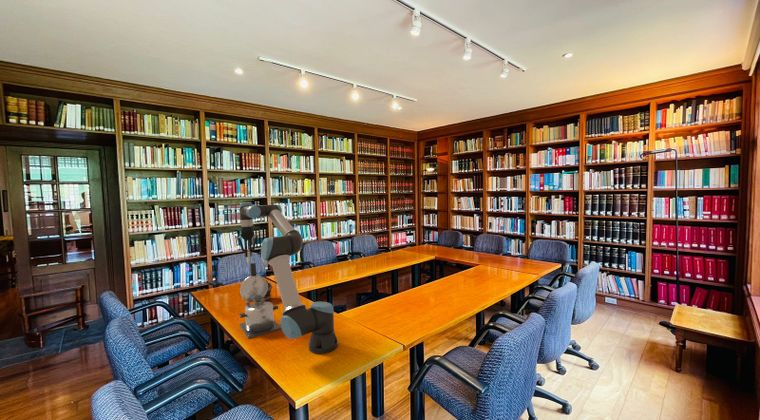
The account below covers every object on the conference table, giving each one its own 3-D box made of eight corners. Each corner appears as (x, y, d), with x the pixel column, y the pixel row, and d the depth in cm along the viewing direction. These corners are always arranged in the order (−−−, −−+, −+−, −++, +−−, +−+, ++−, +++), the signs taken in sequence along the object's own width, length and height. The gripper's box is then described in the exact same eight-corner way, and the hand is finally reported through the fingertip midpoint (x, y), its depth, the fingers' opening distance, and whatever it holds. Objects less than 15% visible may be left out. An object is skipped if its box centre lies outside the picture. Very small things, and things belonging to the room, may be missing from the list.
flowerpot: (276, 296, 243) (274, 271, 242) (267, 303, 228) (265, 277, 227) (258, 296, 245) (257, 271, 244) (248, 303, 230) (247, 277, 228)
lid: (266, 261, 198) (265, 260, 201) (238, 265, 189) (237, 264, 191) (268, 298, 199) (267, 297, 202) (241, 304, 189) (240, 303, 192)
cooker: (284, 328, 186) (283, 305, 185) (245, 339, 173) (244, 315, 172) (272, 316, 204) (271, 296, 203) (236, 326, 191) (235, 304, 190)
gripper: (255, 224, 208) (257, 259, 209) (234, 226, 200) (236, 262, 202) (258, 225, 202) (260, 261, 203) (237, 227, 194) (239, 264, 196)
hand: (248, 261), depth 202 cm, fingers closed
